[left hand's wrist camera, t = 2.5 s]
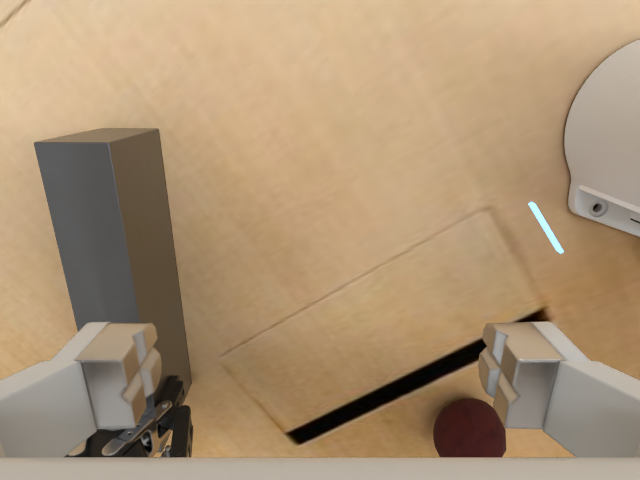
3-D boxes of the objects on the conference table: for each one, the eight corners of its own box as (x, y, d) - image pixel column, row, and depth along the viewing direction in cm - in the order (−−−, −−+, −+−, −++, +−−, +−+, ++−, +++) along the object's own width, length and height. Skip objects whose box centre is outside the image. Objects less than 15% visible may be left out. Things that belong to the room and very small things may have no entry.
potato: (414, 422, 48) (429, 475, 42) (452, 374, 46) (475, 422, 39) (465, 445, 50) (488, 501, 43) (506, 399, 47) (536, 451, 41)
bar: (101, 128, 37) (32, 142, 28) (158, 128, 37) (108, 142, 28) (146, 383, 47) (106, 452, 38) (192, 383, 47) (162, 452, 38)
